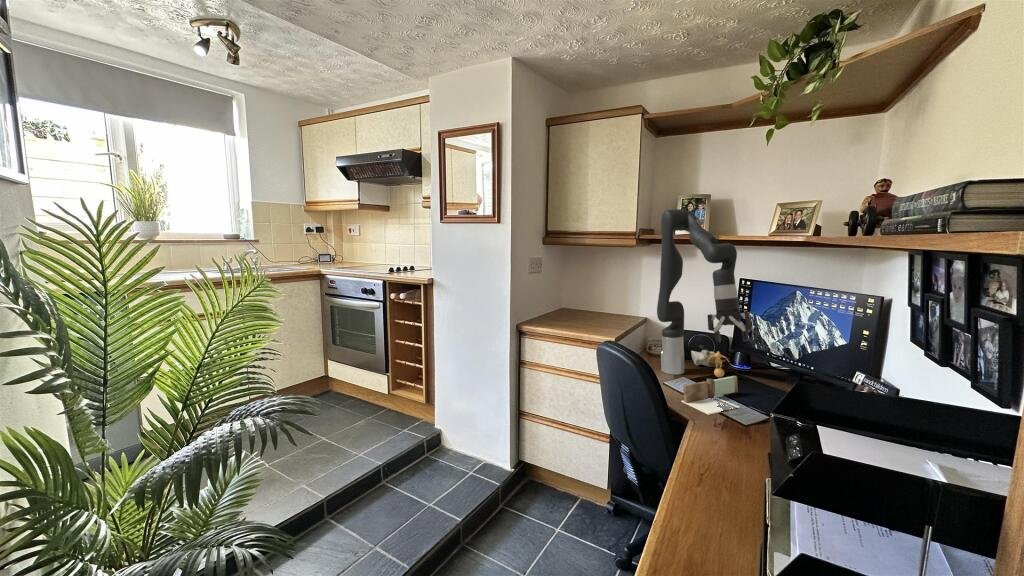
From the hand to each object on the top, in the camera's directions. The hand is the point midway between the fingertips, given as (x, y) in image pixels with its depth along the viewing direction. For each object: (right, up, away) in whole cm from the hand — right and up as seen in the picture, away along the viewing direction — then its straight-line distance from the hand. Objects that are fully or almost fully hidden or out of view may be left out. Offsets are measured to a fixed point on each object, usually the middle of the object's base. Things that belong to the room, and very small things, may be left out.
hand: (731, 341), depth 142 cm
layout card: (-8, -23, 0) cm, 24 cm away
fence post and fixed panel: (-9, -23, +5) cm, 25 cm away
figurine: (+11, -20, +29) cm, 36 cm away
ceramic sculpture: (+15, -18, +47) cm, 52 cm away
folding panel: (+2, -21, +8) cm, 23 cm away
